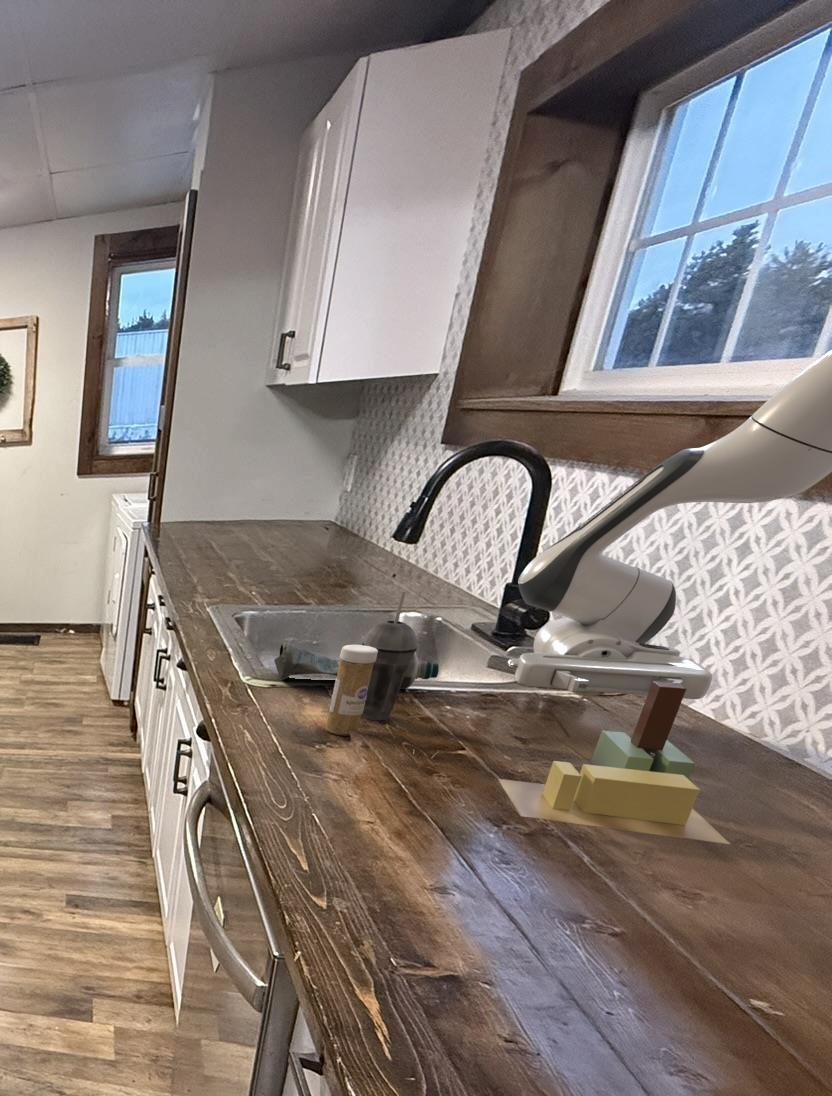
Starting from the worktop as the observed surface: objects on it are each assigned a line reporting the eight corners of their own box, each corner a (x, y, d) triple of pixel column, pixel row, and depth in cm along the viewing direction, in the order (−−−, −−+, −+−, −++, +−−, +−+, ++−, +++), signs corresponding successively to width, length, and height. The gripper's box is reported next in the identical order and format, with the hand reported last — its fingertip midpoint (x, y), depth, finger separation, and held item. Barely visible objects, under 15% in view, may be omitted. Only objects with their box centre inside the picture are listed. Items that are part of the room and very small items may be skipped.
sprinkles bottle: (348, 738, 125) (368, 652, 120) (318, 730, 129) (336, 646, 123) (364, 732, 127) (384, 647, 122) (334, 724, 131) (352, 642, 126)
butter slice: (558, 796, 101) (570, 762, 99) (569, 810, 97) (581, 776, 96) (541, 794, 102) (553, 760, 100) (552, 808, 98) (564, 774, 96)
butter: (669, 809, 97) (683, 774, 95) (685, 825, 93) (700, 789, 91) (571, 797, 101) (583, 763, 99) (582, 812, 97) (595, 777, 95)
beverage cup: (340, 716, 134) (367, 594, 126) (353, 705, 139) (380, 586, 131) (392, 726, 129) (424, 599, 121) (404, 714, 134) (435, 591, 126)
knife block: (645, 778, 108) (662, 735, 106) (677, 808, 100) (695, 763, 98) (586, 771, 111) (601, 730, 109) (612, 800, 103) (629, 756, 100)
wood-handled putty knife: (635, 782, 107) (674, 680, 102) (649, 797, 103) (691, 691, 98) (611, 779, 108) (648, 678, 103) (624, 794, 104) (664, 689, 99)
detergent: (269, 685, 150) (438, 699, 138) (276, 646, 148) (448, 657, 136) (272, 672, 161) (429, 684, 148) (278, 636, 158) (438, 645, 146)
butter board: (680, 812, 99) (685, 800, 99) (725, 856, 90) (731, 844, 89) (494, 789, 107) (497, 778, 106) (517, 827, 97) (521, 816, 97)
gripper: (510, 638, 125) (534, 661, 114) (691, 649, 117) (737, 674, 105) (498, 678, 128) (521, 704, 117) (675, 691, 119) (718, 721, 108)
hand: (625, 690), depth 111 cm, fingers open, 8 cm apart
